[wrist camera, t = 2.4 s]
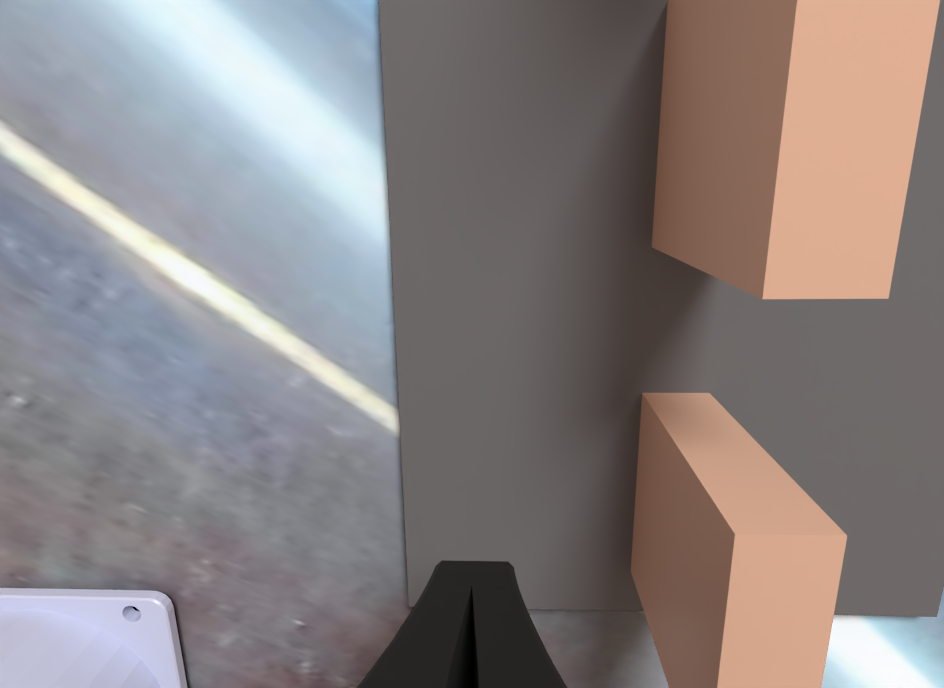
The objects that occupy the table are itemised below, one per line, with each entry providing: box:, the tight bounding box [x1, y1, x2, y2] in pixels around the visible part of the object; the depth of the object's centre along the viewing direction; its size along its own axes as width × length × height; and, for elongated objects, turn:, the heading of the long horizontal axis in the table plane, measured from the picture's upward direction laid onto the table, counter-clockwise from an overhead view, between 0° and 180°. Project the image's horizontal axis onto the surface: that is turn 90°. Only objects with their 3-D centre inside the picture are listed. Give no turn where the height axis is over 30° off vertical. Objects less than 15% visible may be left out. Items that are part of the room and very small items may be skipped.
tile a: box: [631, 393, 847, 688], centre depth 12 cm, size 2×5×6 cm, turn 1°
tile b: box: [652, 0, 940, 299], centre depth 10 cm, size 2×5×6 cm, turn 1°
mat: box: [379, 0, 944, 617], centre depth 14 cm, size 14×16×1 cm
